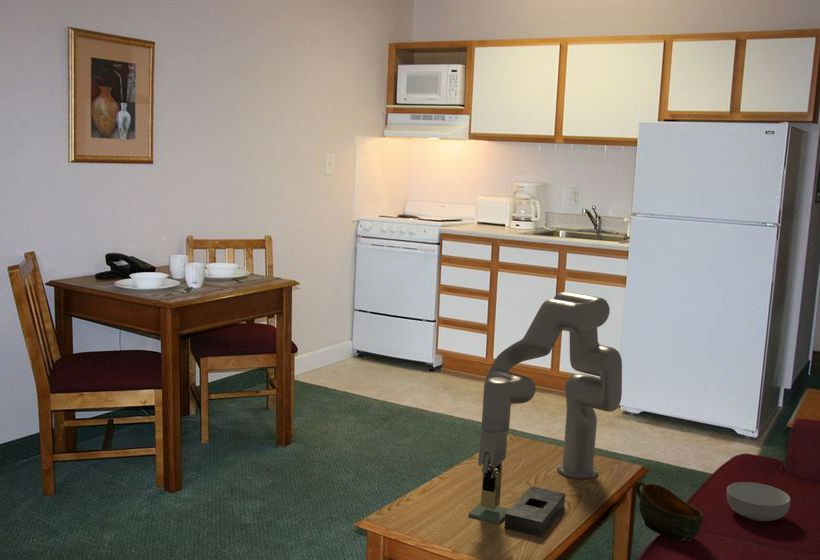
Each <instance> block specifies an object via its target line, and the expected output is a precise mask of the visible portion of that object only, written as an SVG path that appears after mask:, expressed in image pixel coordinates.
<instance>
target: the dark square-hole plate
mask: <svg viewBox="0 0 820 560" xmlns="http://www.w3.org/2000/svg"><path fill="white" fill-rule="evenodd" d="M565 500H566V493H564V492H559V491H555V490H550V489H547V488H542V487H538V486H534V485H531V486H530V487H529V488H528V489H527V490H526V491H525V492H524V493H523V494H522V496H520V497H519V498H518V500H517V501H516V502H515V503H514V504H513V505H512V506H510V508H508V509H509V510H508V511H507V512H506V513H505V518H504V529H509V530H513V531H516V532H521V533H525V534H528V535H533V536H535V537H542V536H543V535H544V533H545V532H546V531H547V530H548V529H549V527H550V525H552V523H553V522H554V521H555V520H556V518H557V516H558V515H559V514H560V513H561V511H562V510H563V509H564V508H565V502H566V501H565Z"/></svg>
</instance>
